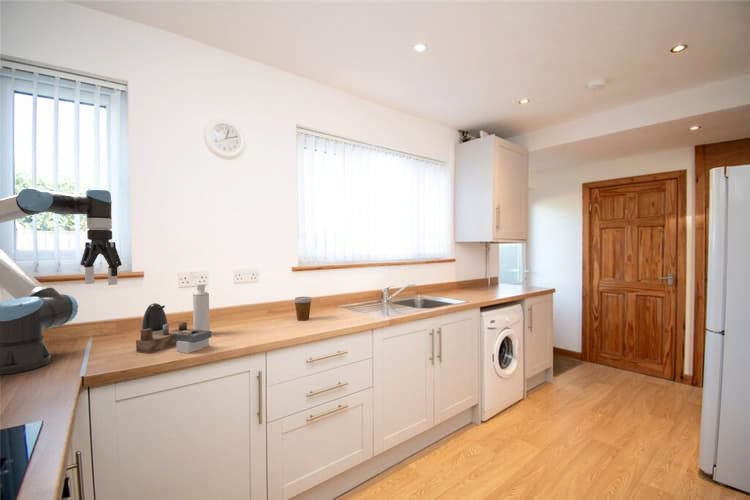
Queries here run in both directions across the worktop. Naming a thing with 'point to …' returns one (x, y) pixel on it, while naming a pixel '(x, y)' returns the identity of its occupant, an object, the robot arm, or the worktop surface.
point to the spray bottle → (201, 309)
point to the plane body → (158, 339)
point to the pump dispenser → (154, 318)
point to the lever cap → (192, 335)
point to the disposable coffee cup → (303, 308)
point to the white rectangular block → (191, 346)
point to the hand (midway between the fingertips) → (101, 284)
